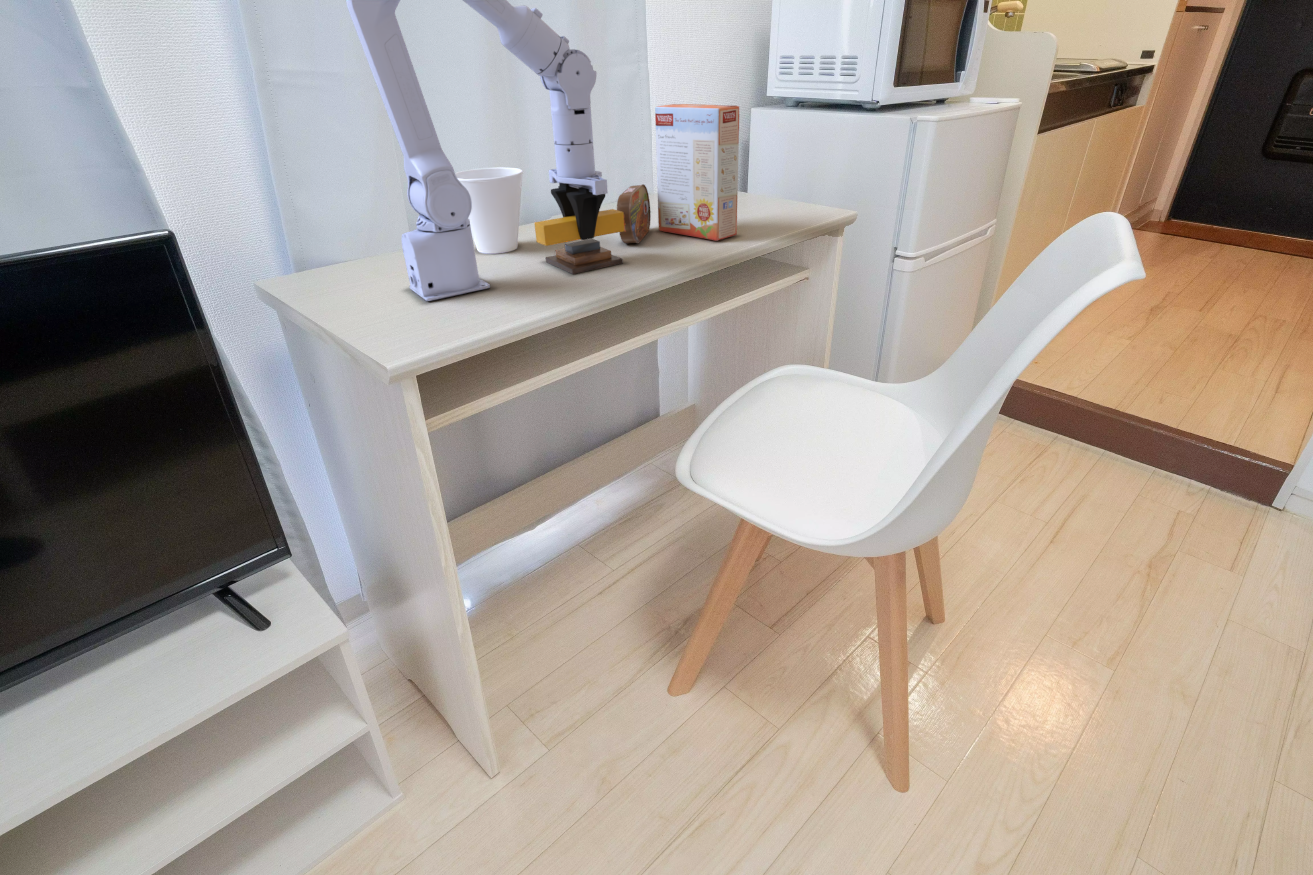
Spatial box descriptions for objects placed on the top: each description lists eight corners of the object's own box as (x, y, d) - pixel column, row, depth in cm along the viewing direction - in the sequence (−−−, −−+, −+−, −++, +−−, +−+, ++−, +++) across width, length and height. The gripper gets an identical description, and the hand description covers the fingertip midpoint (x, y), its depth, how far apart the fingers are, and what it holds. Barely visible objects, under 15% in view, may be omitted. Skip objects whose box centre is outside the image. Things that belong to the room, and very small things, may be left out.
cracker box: (738, 235, 122) (741, 104, 112) (716, 242, 119) (718, 107, 108) (679, 225, 131) (677, 102, 121) (657, 231, 127) (653, 105, 117)
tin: (634, 249, 117) (631, 197, 113) (616, 248, 118) (613, 197, 113) (652, 228, 130) (650, 180, 126) (636, 227, 130) (633, 180, 126)
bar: (545, 246, 104) (543, 226, 103) (536, 242, 106) (534, 222, 105) (624, 231, 111) (623, 212, 109) (614, 227, 113) (613, 209, 112)
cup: (483, 238, 127) (472, 166, 121) (543, 241, 124) (534, 167, 118) (449, 256, 117) (435, 178, 111) (513, 259, 114) (502, 179, 108)
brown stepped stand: (572, 274, 105) (570, 253, 104) (545, 262, 112) (543, 242, 110) (622, 263, 110) (621, 243, 108) (594, 252, 116) (592, 232, 114)
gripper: (623, 144, 99) (628, 241, 105) (573, 136, 109) (581, 224, 116) (579, 149, 95) (587, 249, 102) (533, 140, 106) (543, 231, 112)
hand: (581, 236), depth 109 cm, fingers closed on bar, 3 cm apart
